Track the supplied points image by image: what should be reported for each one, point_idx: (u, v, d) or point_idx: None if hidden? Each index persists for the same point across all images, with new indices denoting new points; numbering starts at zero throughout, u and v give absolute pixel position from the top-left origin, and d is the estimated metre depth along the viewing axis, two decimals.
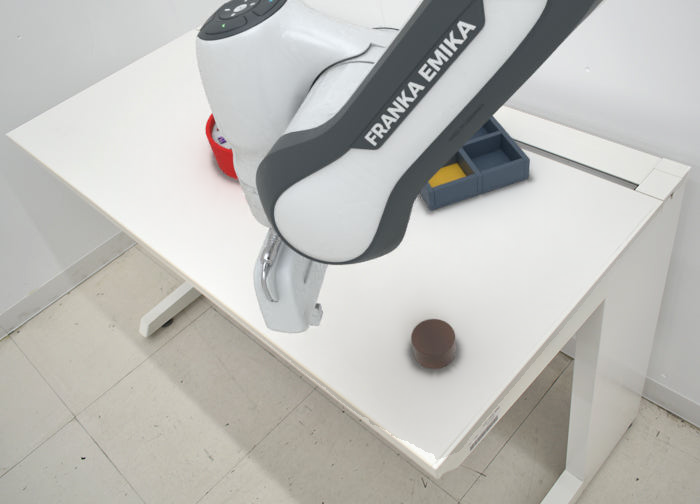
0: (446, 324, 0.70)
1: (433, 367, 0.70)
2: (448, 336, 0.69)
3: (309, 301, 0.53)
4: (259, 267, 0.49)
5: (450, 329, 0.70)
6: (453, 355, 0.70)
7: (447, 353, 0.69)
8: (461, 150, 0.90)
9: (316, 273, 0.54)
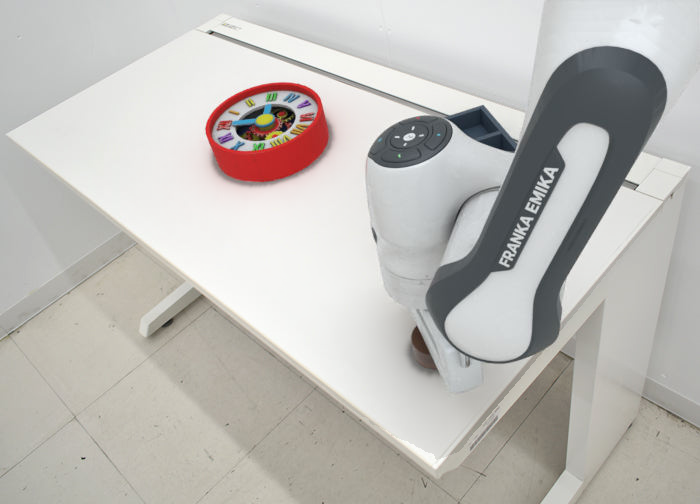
0: None
1: (433, 367, 0.70)
2: None
3: None
4: (447, 343, 0.56)
5: None
6: None
7: None
8: None
9: None
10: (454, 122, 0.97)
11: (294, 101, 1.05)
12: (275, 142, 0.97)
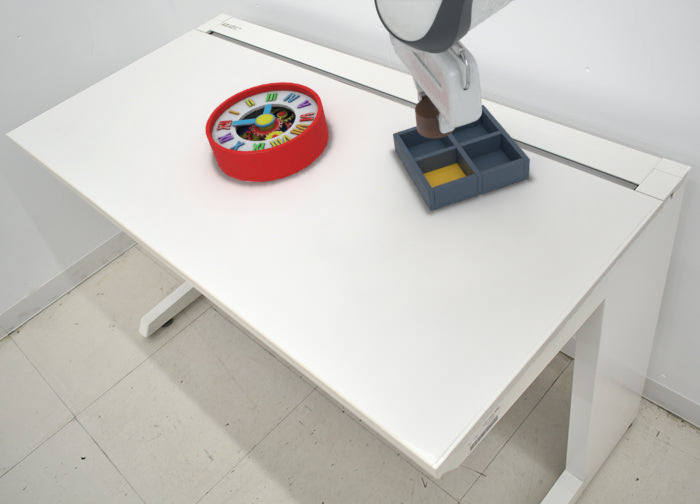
0: None
1: (435, 136, 0.76)
2: None
3: None
4: (449, 64, 0.63)
5: None
6: None
7: None
8: (461, 150, 0.90)
9: None
10: None
11: (294, 101, 1.05)
12: (275, 142, 0.97)
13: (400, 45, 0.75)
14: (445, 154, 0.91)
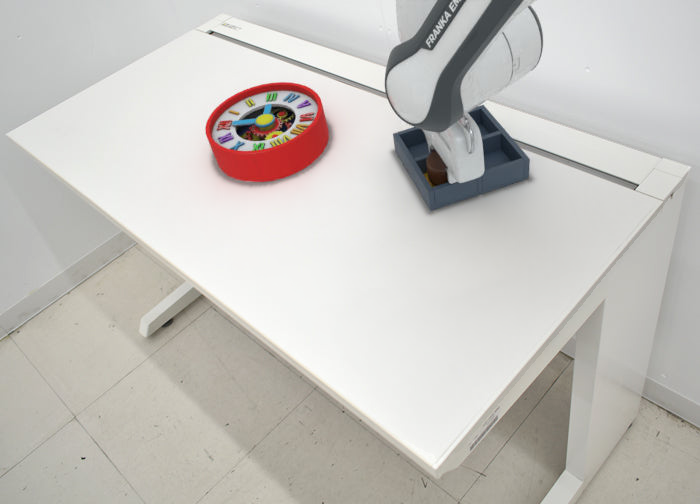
0: None
1: None
2: None
3: None
4: (456, 132, 0.74)
5: None
6: None
7: None
8: None
9: None
10: None
11: (294, 101, 1.05)
12: (275, 142, 0.97)
13: None
14: None
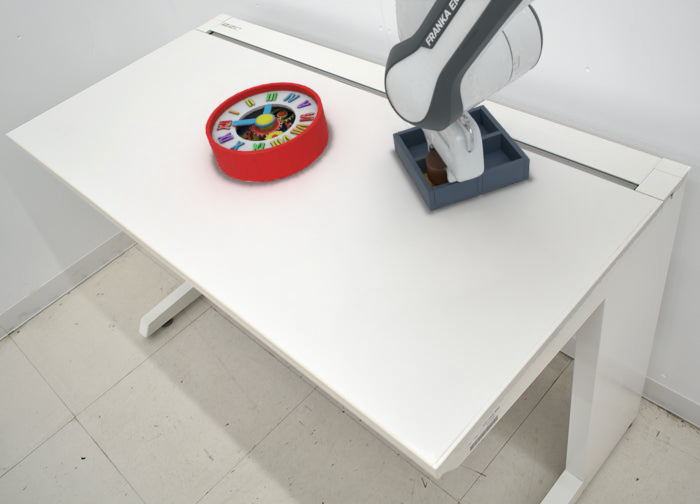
0: None
1: (443, 183, 0.87)
2: None
3: None
4: (456, 131, 0.74)
5: None
6: None
7: None
8: None
9: None
10: None
11: (294, 101, 1.05)
12: (275, 142, 0.97)
13: None
14: None
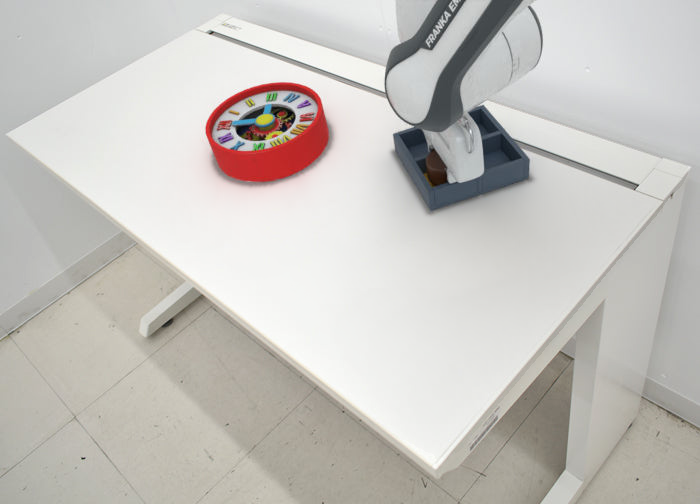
0: None
1: None
2: None
3: None
4: (456, 132, 0.74)
5: None
6: None
7: None
8: None
9: None
10: None
11: (294, 101, 1.05)
12: (275, 142, 0.97)
13: None
14: None
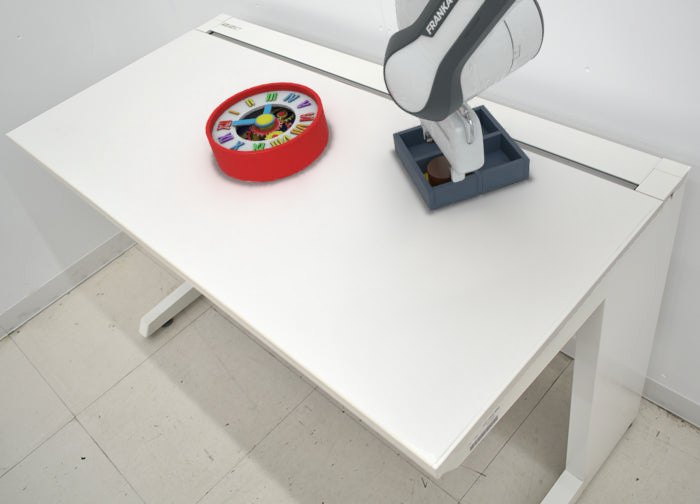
0: None
1: None
2: None
3: None
4: (456, 122, 0.73)
5: None
6: None
7: None
8: None
9: None
10: None
11: (294, 101, 1.05)
12: (275, 142, 0.97)
13: None
14: None
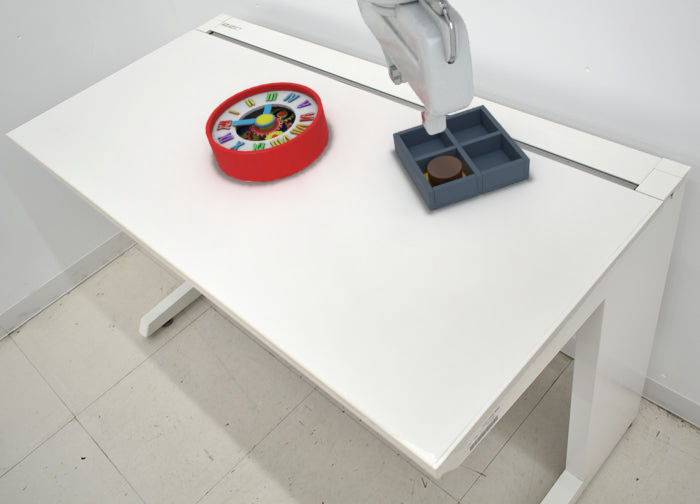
0: (455, 158, 0.89)
1: None
2: (456, 165, 0.88)
3: None
4: (427, 27, 0.45)
5: (458, 161, 0.88)
6: None
7: (456, 178, 0.87)
8: (461, 150, 0.90)
9: None
10: (454, 122, 0.97)
11: (294, 101, 1.05)
12: (275, 142, 0.97)
13: (370, 11, 0.58)
14: (445, 154, 0.91)
